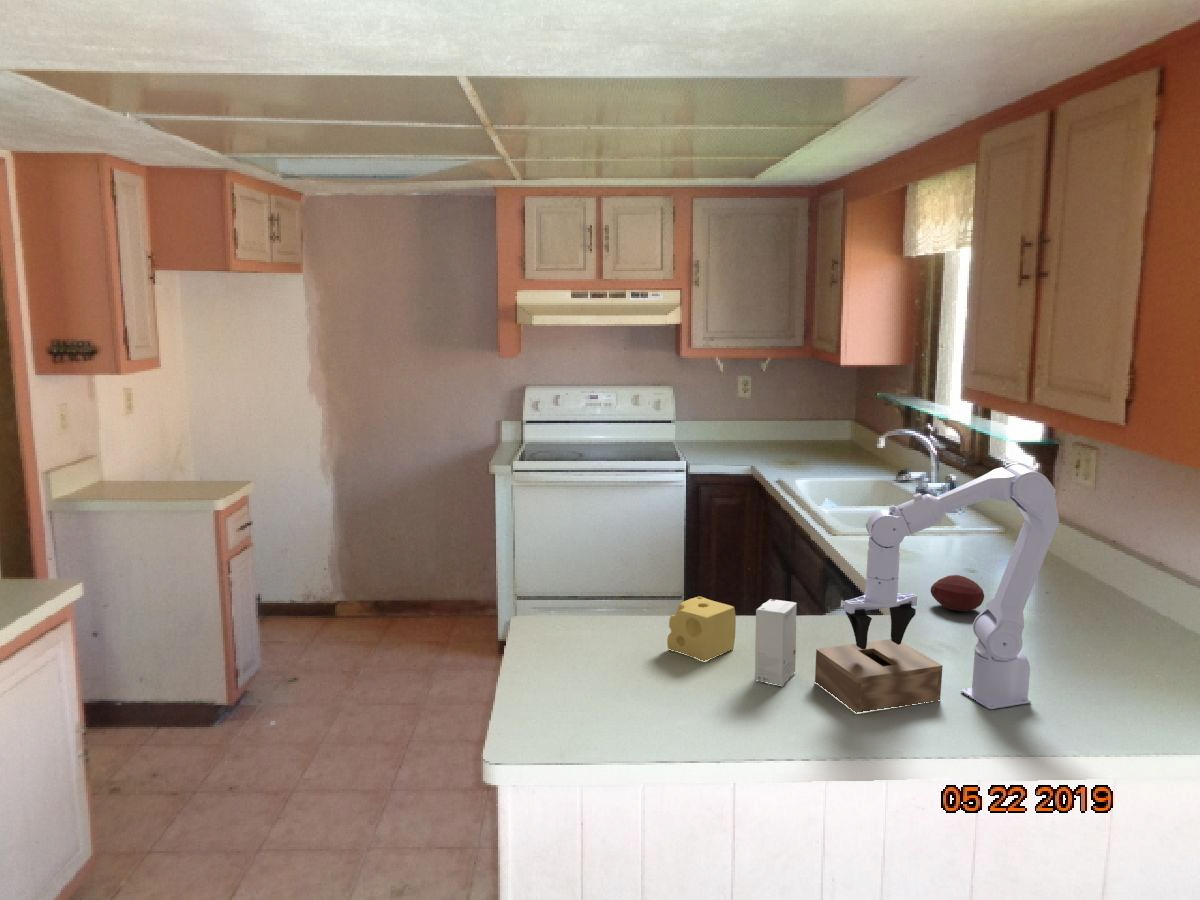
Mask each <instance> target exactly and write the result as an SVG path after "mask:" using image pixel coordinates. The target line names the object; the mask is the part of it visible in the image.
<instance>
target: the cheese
mask: <svg viewBox="0 0 1200 900" xmlns="http://www.w3.org/2000/svg"><path fill="white" fill-rule="evenodd" d="M736 619H737V617H736V610H735V606H733V605H730V604H726V603H724V602H723V603H722V602H719V601H714V600H712V599H708V598H706V597H703V596H699V595H698V596H696V597H693V598H689V599H687V600H684V601H682V602H680V603H679V604H678V608H677V611H676V612H675V614H671V616H670V618H669V621H668V627H669V629H670V633H669V634H668V635H667V649H668V650H669V649H671V650H674V651H678V652H681V653H684V654H687V655H689V656H692V657H696V658H698V659H700V660H703V661H705V660H708V659H710V658H713V657H715V656H717V655H720V654H722V653H725V652H727V651H729V652H731V651H733V650H734V647H735V639H736V622H737V621H736ZM732 649H733V650H732ZM730 650H731V651H730ZM727 653H728V652H727ZM725 654H726V653H725Z"/></svg>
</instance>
